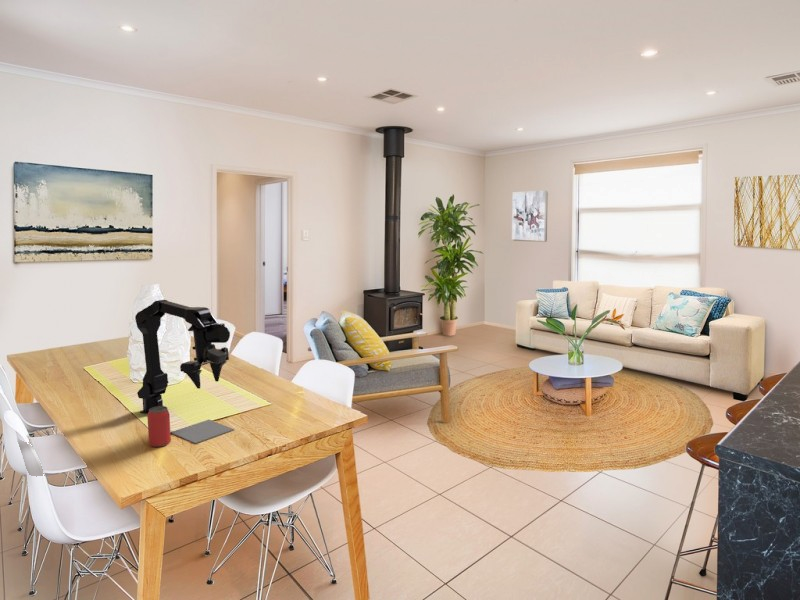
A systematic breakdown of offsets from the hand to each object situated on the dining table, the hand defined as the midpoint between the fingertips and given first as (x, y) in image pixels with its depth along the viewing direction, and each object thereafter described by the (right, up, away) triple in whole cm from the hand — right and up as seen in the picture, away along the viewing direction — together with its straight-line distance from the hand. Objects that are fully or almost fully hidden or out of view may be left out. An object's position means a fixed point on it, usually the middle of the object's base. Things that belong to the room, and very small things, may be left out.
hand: (208, 384), depth 188 cm
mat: (+1, -15, -7) cm, 17 cm away
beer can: (-10, -17, -17) cm, 26 cm away
